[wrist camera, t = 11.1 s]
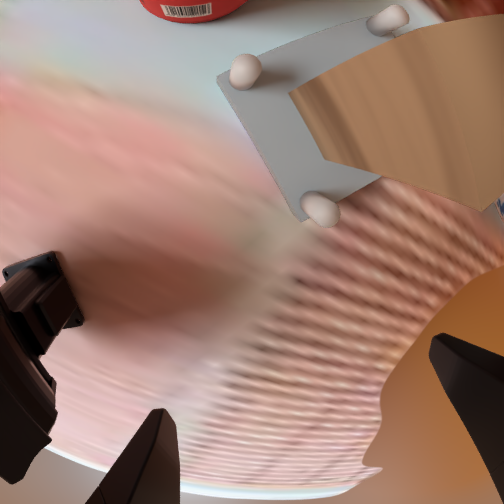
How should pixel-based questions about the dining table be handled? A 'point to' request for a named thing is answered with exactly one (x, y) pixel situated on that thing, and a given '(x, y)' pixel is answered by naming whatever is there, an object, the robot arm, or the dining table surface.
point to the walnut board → (419, 110)
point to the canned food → (191, 9)
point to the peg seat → (289, 119)
